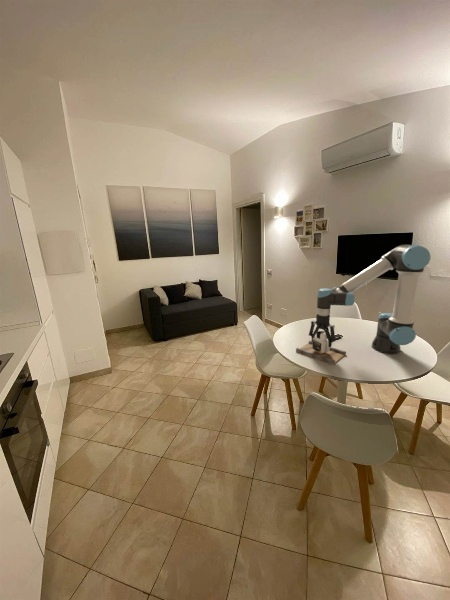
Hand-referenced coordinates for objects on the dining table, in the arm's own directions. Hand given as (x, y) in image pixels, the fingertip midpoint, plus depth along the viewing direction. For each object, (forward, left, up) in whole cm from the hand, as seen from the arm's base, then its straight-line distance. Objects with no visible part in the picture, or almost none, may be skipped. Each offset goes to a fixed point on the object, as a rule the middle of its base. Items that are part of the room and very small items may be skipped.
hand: (320, 349), depth 150 cm
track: (0, 0, -3) cm, 3 cm away
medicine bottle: (0, 0, -1) cm, 1 cm away
